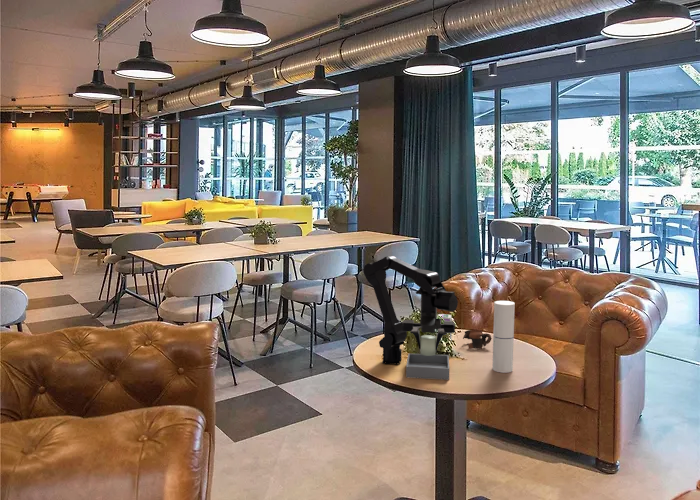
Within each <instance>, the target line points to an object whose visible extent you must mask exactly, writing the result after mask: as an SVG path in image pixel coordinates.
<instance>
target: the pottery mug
mask: <svg viewBox="0 0 700 500" xmlns="http://www.w3.org/2000/svg"><path fill="white" fill-rule="evenodd" d="M462 339H463V340H464V339H467V340H470V341H471V342H470V343H467V347H468V350H471V349H473V350H474V349H477V350H480V349H481V350H483V347H486V346H487V345H489V344H490V343H491V341H492V340H493V337H492V336H491V335H490V334H489V333H487V332H486V333H483V330H482V329H468V330H465V331H464V335H463V338H462Z"/></svg>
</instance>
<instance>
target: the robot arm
mask: <svg viewBox="0 0 700 500" xmlns="http://www.w3.org/2000/svg"><path fill="white" fill-rule="evenodd" d="M388 270H392V271H395V272H396V273H399V274H401V275H403V276H404V277H406V278H409V279H411V280H412V281H413V283H414V284H415V285H416V286H418V287H419V289H418V290H416V291H415V294H417V295H420V319H419V320H420V321H419V322H414V320H412V319H404V320H402V321H400V320H399V319H398V318H397V314H396V311H395V309H394V305H393V303H392V299H391V297H390V294H389V290H388V287H387V284H386V280H387V271H388ZM362 271H363V275H364V277H365V280H366V281H367V283H369V285H371V286H372V287H373V288H372V289H373V290H374V291H373V292H374V293H375V297H376V300H377V303H378V306H379V309H380V311H381V315H382V318H383V322H384V323H383V324H384V326H383V330H382V331H383V335H384V336H383V337H382V338H381V339H380V340H379V341H378V344H379V347H380V348H381V349H382V364H383V365H384V364H385V365H387V364H388V365H400V362H401V361H402V349H401V346H402V345H404V342H405V340H406V339H407V337H408V333H407V332H410V334H413V336H414V337H415V340H416V343H417V346H418V350H420V343H421V335H420V332H421V333H423V334H425V333H430V334H434V333H435V332H436V330H437V329H438V333H437V332H436V351H437V348H438V345H439V342H440V340H441V338H442V336H443V335H446V333H452V334H455V333H456V324H455V322H454V321H451V322H448V321H444V324H441V319H437V316H438V314H437V313H438V310H441V311H446V312H452V313H454V312H456V310H457V309H458V304H459V300H458V298H457V296H456V295H455V291H447V290H446V288H445V286H444V284H443V282H442V281H441V278H440V275H439V273H438V272H436V271H433V270H428V269H423V268H422V269H421V268H418V267H416V266H414V265H412V264H410V263H408V262H405V261H404V260H402V259H399V258H398V257H396V256H395V255H389V256H384V257H383V258H381V259H378V260H376V261H374V262H370V263H366V264H365V265H364V266H363V269H362Z"/></svg>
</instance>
